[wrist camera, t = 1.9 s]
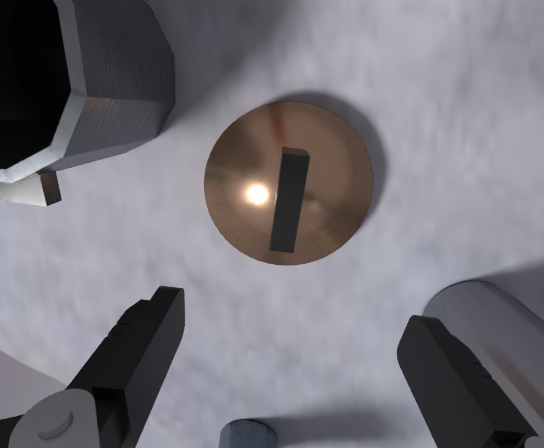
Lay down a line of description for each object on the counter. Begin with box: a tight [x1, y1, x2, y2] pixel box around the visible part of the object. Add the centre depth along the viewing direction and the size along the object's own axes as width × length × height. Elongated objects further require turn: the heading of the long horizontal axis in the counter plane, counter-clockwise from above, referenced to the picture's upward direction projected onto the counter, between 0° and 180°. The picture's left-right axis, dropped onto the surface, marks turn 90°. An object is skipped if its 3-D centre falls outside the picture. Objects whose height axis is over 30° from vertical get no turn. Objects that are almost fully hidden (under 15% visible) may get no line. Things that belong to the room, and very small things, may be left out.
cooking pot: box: [0, 0, 175, 206], centre depth 17 cm, size 13×17×11 cm
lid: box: [204, 102, 373, 265], centre depth 23 cm, size 15×15×5 cm
